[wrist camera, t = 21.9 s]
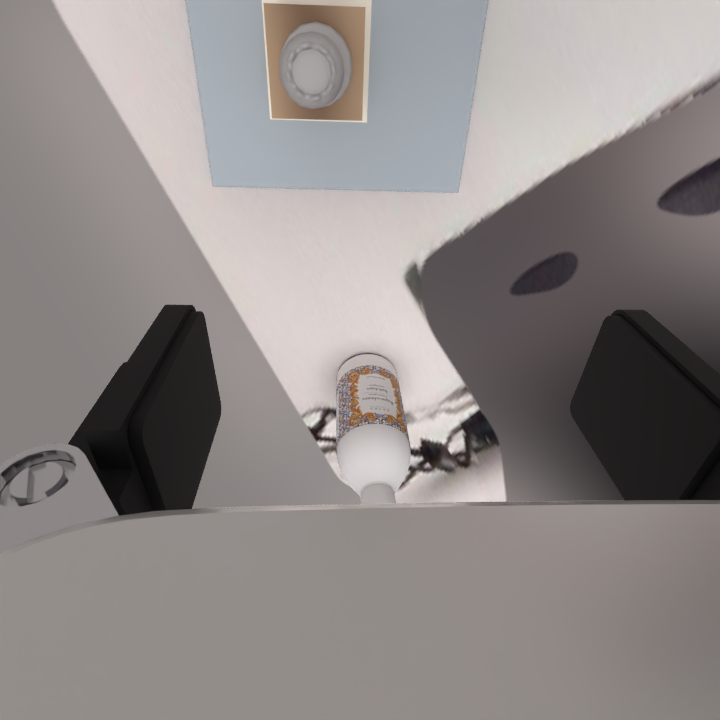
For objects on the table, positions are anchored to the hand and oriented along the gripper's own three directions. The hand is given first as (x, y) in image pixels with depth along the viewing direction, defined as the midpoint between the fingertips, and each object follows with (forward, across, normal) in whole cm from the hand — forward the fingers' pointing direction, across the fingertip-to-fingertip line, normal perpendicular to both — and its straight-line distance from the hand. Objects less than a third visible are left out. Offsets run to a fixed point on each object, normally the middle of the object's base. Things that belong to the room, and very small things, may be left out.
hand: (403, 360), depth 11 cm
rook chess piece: (+25, +3, -5) cm, 26 cm away
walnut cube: (+31, +3, -5) cm, 32 cm away
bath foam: (+32, -2, +25) cm, 41 cm away
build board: (+32, +2, -3) cm, 32 cm away
